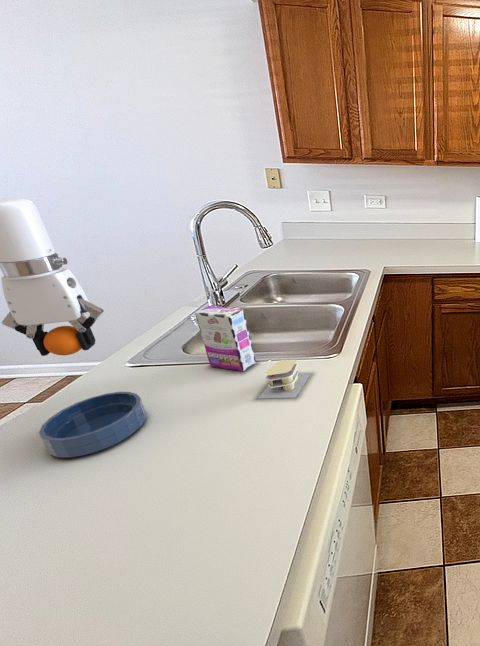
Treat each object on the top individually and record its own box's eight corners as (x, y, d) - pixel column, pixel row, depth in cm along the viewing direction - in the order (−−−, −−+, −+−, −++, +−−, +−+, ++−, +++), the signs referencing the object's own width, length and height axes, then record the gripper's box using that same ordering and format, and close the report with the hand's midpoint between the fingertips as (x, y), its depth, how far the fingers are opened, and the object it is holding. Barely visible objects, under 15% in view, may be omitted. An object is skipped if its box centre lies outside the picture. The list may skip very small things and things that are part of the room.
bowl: (29, 468, 75) (18, 447, 73) (78, 417, 89) (69, 398, 87) (126, 450, 79) (118, 430, 77) (159, 404, 93) (152, 386, 91)
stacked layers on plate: (276, 375, 104) (272, 357, 102) (310, 374, 104) (307, 356, 102) (257, 398, 95) (252, 379, 93) (295, 397, 95) (291, 378, 93)
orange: (43, 363, 78) (30, 336, 76) (61, 348, 83) (50, 323, 81) (80, 358, 80) (69, 331, 77) (96, 344, 85) (86, 319, 83)
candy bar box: (257, 362, 110) (244, 308, 104) (243, 372, 105) (229, 316, 99) (224, 357, 112) (209, 304, 106) (209, 367, 108) (193, 312, 102)
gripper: (98, 256, 80) (128, 335, 87) (-13, 265, 75) (28, 347, 82) (77, 267, 74) (111, 351, 80) (-47, 277, 69) (1, 366, 75)
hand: (69, 349), depth 81 cm, fingers closed on orange, 6 cm apart
